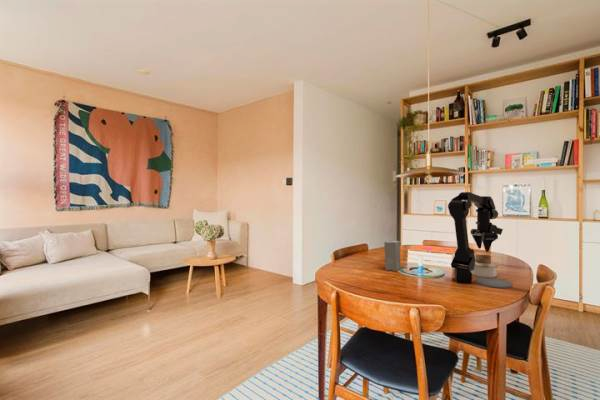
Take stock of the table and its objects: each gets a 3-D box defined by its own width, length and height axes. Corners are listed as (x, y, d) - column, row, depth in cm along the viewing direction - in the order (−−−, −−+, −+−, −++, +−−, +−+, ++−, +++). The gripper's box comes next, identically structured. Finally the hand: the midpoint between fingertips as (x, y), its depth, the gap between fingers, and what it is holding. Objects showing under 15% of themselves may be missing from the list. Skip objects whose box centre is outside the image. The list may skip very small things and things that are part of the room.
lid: (474, 267, 151) (474, 257, 151) (465, 261, 164) (465, 252, 164) (503, 268, 149) (503, 258, 149) (491, 262, 162) (491, 253, 161)
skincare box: (396, 271, 164) (396, 242, 163) (383, 269, 168) (383, 241, 168) (401, 268, 170) (401, 240, 170) (389, 266, 175) (389, 239, 174)
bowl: (475, 276, 152) (475, 267, 152) (467, 271, 163) (467, 262, 163) (499, 277, 150) (499, 267, 150) (489, 271, 161) (490, 262, 161)
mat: (482, 287, 135) (482, 285, 135) (469, 278, 150) (469, 276, 150) (519, 289, 132) (519, 287, 132) (502, 279, 147) (502, 277, 147)
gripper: (509, 222, 145) (509, 254, 145) (492, 218, 163) (492, 247, 164) (484, 222, 147) (484, 253, 147) (470, 218, 165) (470, 246, 166)
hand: (483, 250), depth 156 cm, fingers open, 9 cm apart
